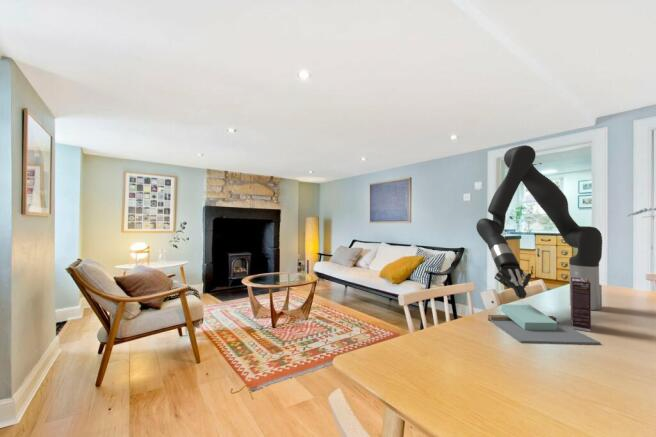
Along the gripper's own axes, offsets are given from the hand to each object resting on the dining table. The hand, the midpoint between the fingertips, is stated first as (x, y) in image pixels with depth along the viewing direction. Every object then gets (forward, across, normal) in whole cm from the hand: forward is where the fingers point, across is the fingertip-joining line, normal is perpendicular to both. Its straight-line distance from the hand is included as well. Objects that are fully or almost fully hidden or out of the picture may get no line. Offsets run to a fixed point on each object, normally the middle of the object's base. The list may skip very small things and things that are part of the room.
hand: (522, 297), depth 102 cm
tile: (0, 0, +7) cm, 7 cm away
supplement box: (+9, +17, +4) cm, 19 cm away
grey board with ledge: (+12, 0, +1) cm, 12 cm away
